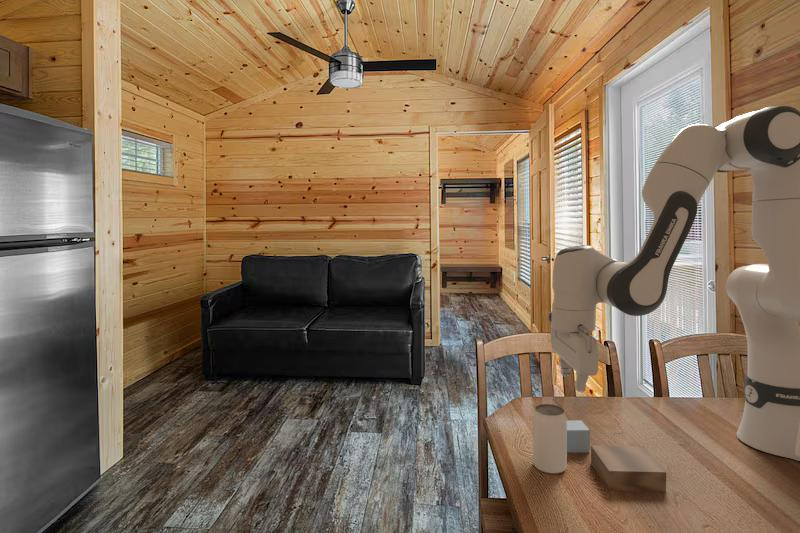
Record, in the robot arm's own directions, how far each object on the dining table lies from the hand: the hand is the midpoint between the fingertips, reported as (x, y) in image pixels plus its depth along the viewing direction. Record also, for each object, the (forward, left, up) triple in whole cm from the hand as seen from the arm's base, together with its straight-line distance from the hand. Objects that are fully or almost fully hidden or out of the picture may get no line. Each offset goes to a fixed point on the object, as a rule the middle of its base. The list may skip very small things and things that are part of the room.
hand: (572, 382), depth 98 cm
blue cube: (0, 0, -15) cm, 15 cm away
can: (+7, +8, -15) cm, 18 cm away
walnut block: (-6, +12, -15) cm, 20 cm away
